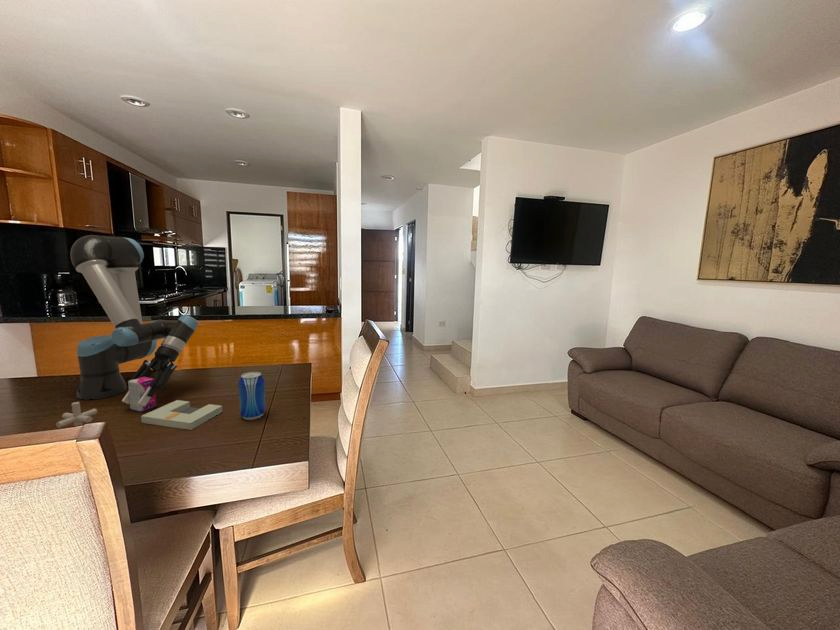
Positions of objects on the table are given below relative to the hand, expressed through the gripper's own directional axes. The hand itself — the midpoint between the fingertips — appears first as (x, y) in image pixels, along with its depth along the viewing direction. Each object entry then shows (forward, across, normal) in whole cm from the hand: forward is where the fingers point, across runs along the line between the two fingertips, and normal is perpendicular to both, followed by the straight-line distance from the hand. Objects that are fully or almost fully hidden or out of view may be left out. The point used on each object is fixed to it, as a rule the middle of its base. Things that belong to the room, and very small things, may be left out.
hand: (133, 403), depth 123 cm
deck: (+2, -20, -3) cm, 20 cm away
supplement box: (0, 0, -5) cm, 5 cm away
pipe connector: (+14, +3, +8) cm, 16 cm away
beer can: (-3, -43, -9) cm, 44 cm away
